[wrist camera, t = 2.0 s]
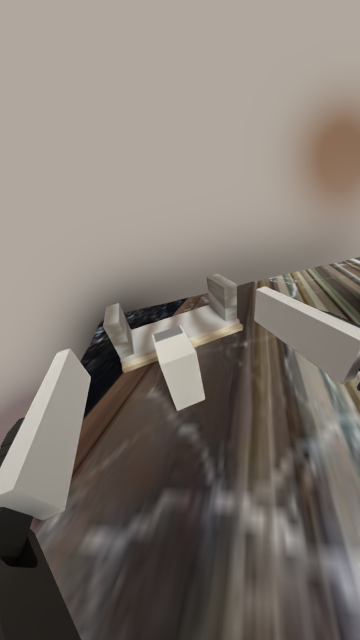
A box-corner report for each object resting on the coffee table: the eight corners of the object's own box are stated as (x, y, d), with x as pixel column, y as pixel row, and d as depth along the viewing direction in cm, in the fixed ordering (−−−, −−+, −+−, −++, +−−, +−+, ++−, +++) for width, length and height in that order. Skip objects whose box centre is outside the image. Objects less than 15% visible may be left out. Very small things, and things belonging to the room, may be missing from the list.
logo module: (190, 368, 34) (180, 323, 28) (205, 399, 28) (195, 350, 22) (167, 377, 34) (151, 333, 27) (177, 410, 28) (159, 363, 21)
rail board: (215, 305, 53) (212, 271, 47) (242, 329, 41) (243, 287, 35) (123, 336, 48) (107, 302, 42) (124, 372, 37) (102, 333, 31)
